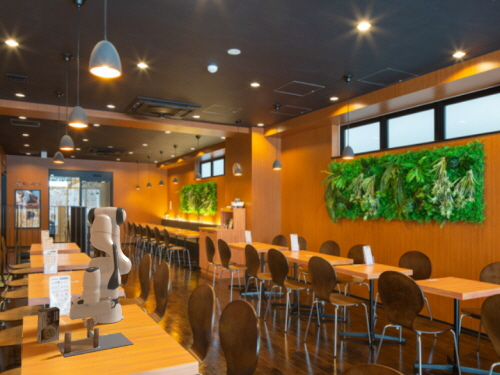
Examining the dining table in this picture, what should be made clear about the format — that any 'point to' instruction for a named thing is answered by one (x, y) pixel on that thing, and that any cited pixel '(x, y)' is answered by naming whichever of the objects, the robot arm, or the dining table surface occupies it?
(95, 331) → the fence fixed
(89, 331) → the gate
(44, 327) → the coffee box
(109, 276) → the robot arm
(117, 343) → the board
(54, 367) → the dining table surface
